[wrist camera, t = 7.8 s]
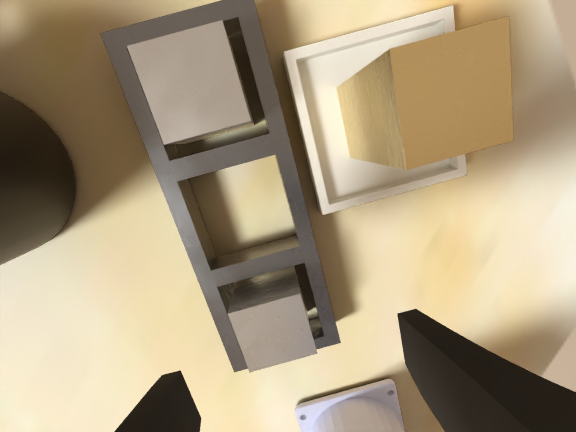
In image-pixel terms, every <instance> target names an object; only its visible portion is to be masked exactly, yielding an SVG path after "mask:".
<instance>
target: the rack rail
mask: <svg viewBox="0 0 576 432" xmlns="http://www.w3.org/2000/svg"><path fill="white" fill-rule="evenodd" d="M238 33H242V35H243V39H244V43H245V46H246V50H247V54H248V57H249V61H250V65H251V68H252V72H253V76H254V80H255V83H256V87H257V91H258V94H259V98H260V102H261V105H262V109H263V113H264V116H265V120H266V124H267V127H268V131H269V134H266V135H262V136H259V137H255V138H252V139H248V140H244V141H241V142H237V143H233V144H230V145H226V146H222V147H219V148H215V149H211V150H208V151H204V152H201V153H197V154H193V155H190V156H186V157H182V158H180V156H179V153H178V150H177V147H176V145H175V144H188V143H192V142H195V141H199V140H202V139H206V138H210V137H213V136H217V135H221V134H224V133H228V132H232V131H235V130H239V129H243V128H246V127H250V126H253V125H254V122H253V118H252V115H251V111H250V108H249V104H248V101H247V97H246V94H245V90H244V87H243V83H242V80H241V76H240V73H239V69H238V65H237V62H236V58H235V55H234V51H233V48H232V46H231V43H230V40H229V37H228V36H231V35H235V34H238ZM100 34H101V37H102V39H103V42H104V44H105V47H106V49H107V52H108V54H109V57H110V59H111V62H112V64H113V67H114V69H115V72H116V75H117V77H118V80H119V82H120V85H121V87H122V90H123V92H124V95H125V97H126V100H127V102H128V105H129V107H130V110H131V112H132V115H133V117H134V120H135V123H136V125H137V128H138V130H139V133H140V135H141V138H142V140H143V143H144V145H145V148H146V150H147V153H148V155H149V158H150V160H151V163H152V165H153V168H154V171H155V173H156V176H157V178H158V181H159V183H160V186H161V188H162V191H163V193H164V196H165V198H166V201H167V203H168V206H169V208H170V211H171V213H172V216H173V218H174V221H175V224H176V226H177V229H178V231H179V234H180V236H181V239H182V241H183V244H184V246H185V249H186V251H187V254H188V256H189V259H190V261H191V264H192V266H193V269H194V272H195V274H196V277H197V279H198V282H199V284H200V287H201V289H202V292H203V294H204V297H205V299H206V302H207V304H208V307H209V309H210V312H211V314H212V317H213V320H214V322H215V325H216V327H217V330H218V332H219V335H220V337H221V340H222V342H223V345H224V347H225V350H226V352H227V355H228V357H229V360H230V362H231V365H232V368H233V370H234V372H237V371H241V370H244V369H249V372H253V371H256V370H260V369H263V368H267V367H270V366H274V365H278V364H281V363H285V362H288V361H292V360H296V359H299V358H303V357H306V356H310V355H313V354H317V350H316V349H320V348H323V347H327V346H330V345H334V344H338V343H341V342H340V338H339V334H338V330H337V326H336V322H335V318H334V314H333V310H332V306H331V303H330V299H329V295H328V291H327V287H326V283H325V279H324V275H323V271H322V267H321V263H320V259H319V255H318V251H317V247H316V243H315V239H314V235H313V231H312V227H311V224H310V220H309V216H308V212H307V208H306V204H305V200H304V196H303V192H302V188H301V184H300V180H299V176H298V172H297V168H296V164H295V160H294V156H293V152H292V148H291V145H290V141H289V137H288V133H287V129H286V125H285V121H284V117H283V113H282V109H281V105H280V101H279V97H278V93H277V89H276V85H275V81H274V77H273V73H272V69H271V66H270V62H269V58H268V54H267V50H266V46H265V42H264V38H263V34H262V30H261V26H260V22H259V18H258V14H257V10H256V6H255V2H254V0H221V1H218V2H214V3H210V4H207V5H203V6H199V7H196V8H192V9H188V10H184V11H181V12H177V13H173V14H170V15H166V16H162V17H159V18H155V19H151V20H148V21H144V22H140V23H137V24H133V25H129V26H126V27H122V28H118V29H115V30H111V31H107V32H104V33H100ZM271 155H275V157H276V161H277V164H278V168H279V172H280V175H281V179H282V183H283V186H284V190H285V194H286V198H287V201H288V205H289V209H290V212H291V216H292V220H293V223H294V227H295V231H296V234H297V235H294V236H290V237H287V238H283V239H279V240H276V241H272V242H269V243H265V244H261V245H258V246H254V247H251V248H247V249H243V250H240V251H236V252H232V253H229V254H225V255H222V256H218V257H216V254H215V251H214V249H213V246H212V243H211V240H210V238H209V235H208V232H207V229H206V227H205V224H204V221H203V219H202V216H201V213H200V210H199V208H198V205H197V202H196V199H195V197H194V194H193V191H192V188H191V186H190V183H189V180H188V178H192V177H195V176H199V175H202V174H206V173H210V172H213V171H217V170H221V169H224V168H228V167H231V166H235V165H239V164H242V163H246V162H250V161H253V160H257V159H261V158H264V157H268V156H271ZM302 263H304V264H305V268H306V271H307V275H308V279H309V282H310V286H311V290H312V293H313V297H314V301H315V305H316V308H317V312H318V316H319V318H316V319H312V320H309V317H308V313H307V309H306V306H305V302H304V299H303V295H302V292H301V288H300V285H299V281H298V277H297V274H296V270H295V267H294V265H298V264H302ZM233 282H234V287H233V291H232V296H231V295H230V292H229V290H228V287H227V284H229V283H233Z"/></svg>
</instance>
